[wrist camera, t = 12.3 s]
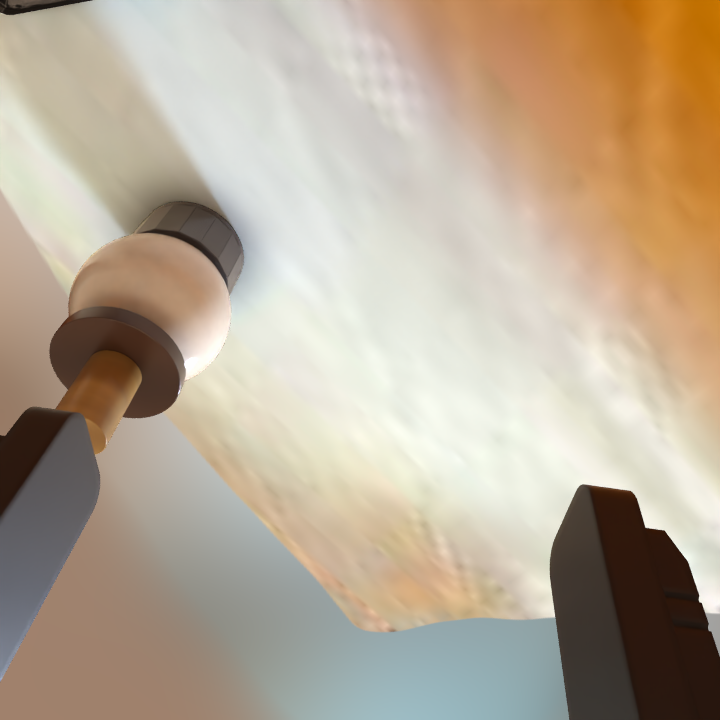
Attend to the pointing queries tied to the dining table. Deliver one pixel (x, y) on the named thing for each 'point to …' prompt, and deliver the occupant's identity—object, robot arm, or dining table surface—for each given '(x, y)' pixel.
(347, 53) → the dining table surface
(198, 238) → the stand
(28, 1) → the phone
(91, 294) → the ball
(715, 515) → the dining table surface
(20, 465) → the robot arm
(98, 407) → the knob on round base
